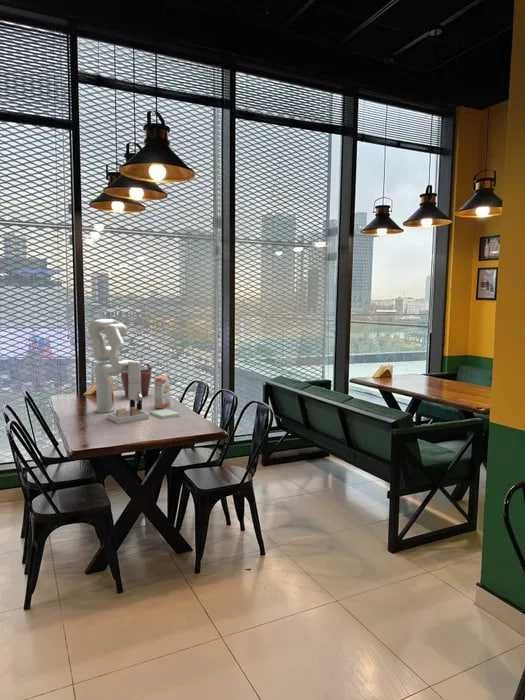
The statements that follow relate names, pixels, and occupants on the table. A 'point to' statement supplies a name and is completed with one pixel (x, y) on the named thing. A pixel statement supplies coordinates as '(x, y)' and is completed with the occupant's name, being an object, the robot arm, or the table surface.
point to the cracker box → (162, 391)
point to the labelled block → (134, 411)
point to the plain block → (121, 413)
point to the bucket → (144, 380)
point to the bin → (128, 417)
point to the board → (164, 413)
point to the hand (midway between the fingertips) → (136, 408)
